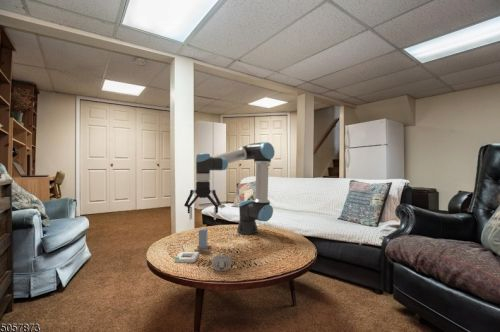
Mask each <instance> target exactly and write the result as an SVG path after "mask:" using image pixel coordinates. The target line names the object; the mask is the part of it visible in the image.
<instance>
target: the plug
mask: <svg viewBox="0 0 500 332" xmlns="http://www.w3.org/2000/svg"><path fill="white" fill-rule="evenodd" d="M198 245H199V249H207V245H208V228H204V227H203V228H199V229H198Z"/></svg>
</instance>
